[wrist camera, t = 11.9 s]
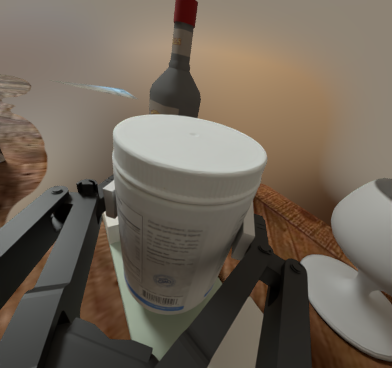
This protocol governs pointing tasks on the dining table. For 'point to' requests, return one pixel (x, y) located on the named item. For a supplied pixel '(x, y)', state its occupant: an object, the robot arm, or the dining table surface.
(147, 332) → the rail
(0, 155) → the coffee box
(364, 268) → the chalice
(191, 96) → the liquor
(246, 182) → the supplement tub
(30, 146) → the dining table surface
